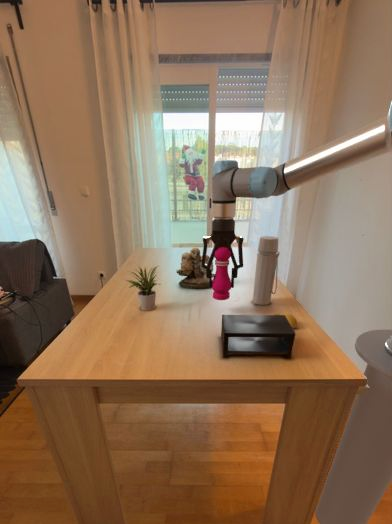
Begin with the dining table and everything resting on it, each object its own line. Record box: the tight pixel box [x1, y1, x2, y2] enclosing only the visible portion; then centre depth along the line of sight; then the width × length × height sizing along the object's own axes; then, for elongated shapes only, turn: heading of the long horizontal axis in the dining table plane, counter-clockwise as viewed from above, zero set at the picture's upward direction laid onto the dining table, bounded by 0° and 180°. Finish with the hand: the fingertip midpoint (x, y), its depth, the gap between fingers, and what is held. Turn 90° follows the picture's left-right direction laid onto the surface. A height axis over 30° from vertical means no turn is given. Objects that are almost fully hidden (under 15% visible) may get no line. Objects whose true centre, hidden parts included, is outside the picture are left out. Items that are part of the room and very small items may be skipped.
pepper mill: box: [211, 247, 232, 301], centre depth 100 cm, size 7×7×20 cm
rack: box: [220, 314, 296, 360], centre depth 83 cm, size 19×12×8 cm, turn 88°
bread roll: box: [274, 313, 298, 329], centre depth 97 cm, size 8×9×4 cm
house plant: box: [124, 265, 162, 311], centre depth 108 cm, size 14×14×16 cm
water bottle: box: [252, 235, 281, 306], centre depth 108 cm, size 9×8×25 cm
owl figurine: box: [176, 247, 215, 290], centre depth 130 cm, size 18×12×17 cm, turn 95°
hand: (221, 286), depth 103 cm, fingers closed on pepper mill, 7 cm apart
